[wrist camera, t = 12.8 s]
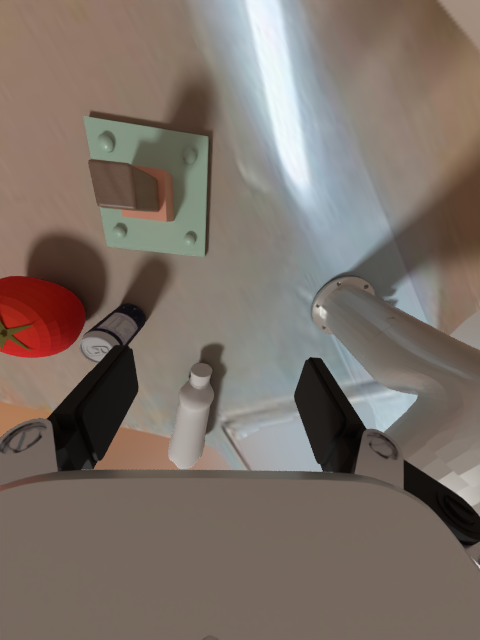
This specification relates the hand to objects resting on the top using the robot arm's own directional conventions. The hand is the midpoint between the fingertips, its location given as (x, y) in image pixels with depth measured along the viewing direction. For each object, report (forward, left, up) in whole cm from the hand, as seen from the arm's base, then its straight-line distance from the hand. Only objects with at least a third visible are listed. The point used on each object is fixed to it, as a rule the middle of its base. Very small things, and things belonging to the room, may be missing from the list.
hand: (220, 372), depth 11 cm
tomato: (+31, +11, -28) cm, 44 cm away
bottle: (+5, +37, -29) cm, 47 cm away
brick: (+12, -9, -27) cm, 31 cm away
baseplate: (+12, -9, -28) cm, 32 cm away
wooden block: (+12, -9, -24) cm, 28 cm away
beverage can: (+18, +12, -28) cm, 36 cm away
